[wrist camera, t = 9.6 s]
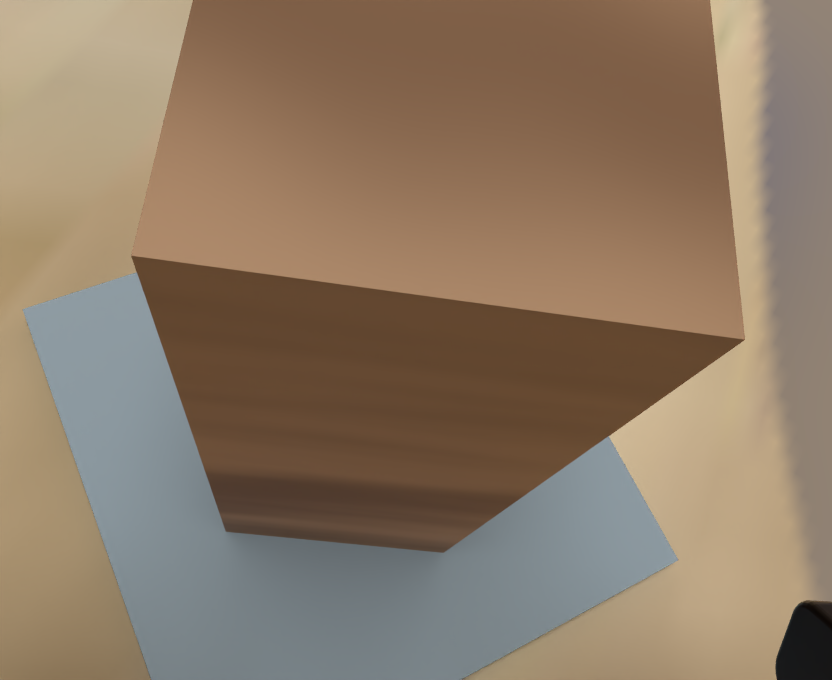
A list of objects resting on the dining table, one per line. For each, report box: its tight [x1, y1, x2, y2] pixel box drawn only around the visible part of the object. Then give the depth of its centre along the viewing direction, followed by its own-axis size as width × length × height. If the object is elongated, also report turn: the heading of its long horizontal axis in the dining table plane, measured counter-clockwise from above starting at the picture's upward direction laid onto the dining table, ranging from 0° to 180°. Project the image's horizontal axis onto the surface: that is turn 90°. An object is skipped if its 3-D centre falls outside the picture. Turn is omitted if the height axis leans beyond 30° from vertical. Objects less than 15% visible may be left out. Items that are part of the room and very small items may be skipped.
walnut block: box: [131, 0, 745, 553], centre depth 13 cm, size 5×5×13 cm
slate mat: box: [23, 272, 678, 680], centre depth 19 cm, size 12×12×1 cm
